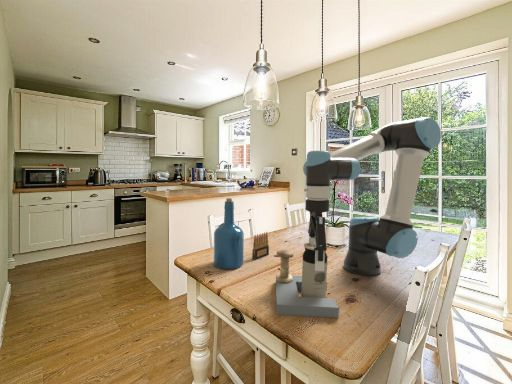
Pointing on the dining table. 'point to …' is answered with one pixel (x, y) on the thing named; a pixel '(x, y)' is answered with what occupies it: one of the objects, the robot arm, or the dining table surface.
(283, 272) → the birch bobbin
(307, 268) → the travel mug
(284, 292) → the notched board
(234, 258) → the wine bottle
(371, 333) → the dining table surface
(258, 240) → the ammunition clip
